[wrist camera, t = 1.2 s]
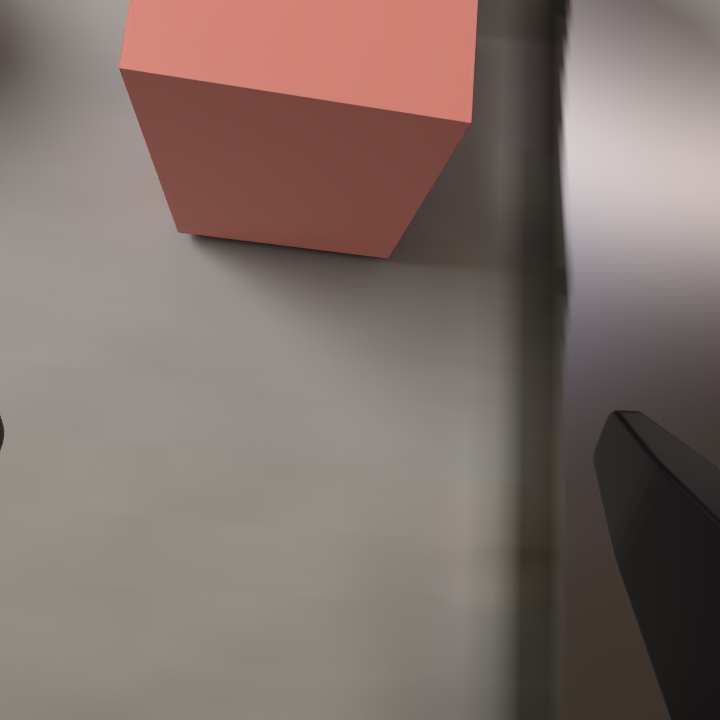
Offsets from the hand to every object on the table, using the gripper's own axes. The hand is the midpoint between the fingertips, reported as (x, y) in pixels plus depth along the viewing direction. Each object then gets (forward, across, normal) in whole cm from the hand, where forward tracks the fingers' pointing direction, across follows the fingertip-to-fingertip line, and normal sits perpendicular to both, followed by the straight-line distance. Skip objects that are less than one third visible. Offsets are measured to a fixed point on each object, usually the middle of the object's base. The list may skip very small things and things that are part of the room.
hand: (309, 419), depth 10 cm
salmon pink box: (+16, +1, 0) cm, 16 cm away
